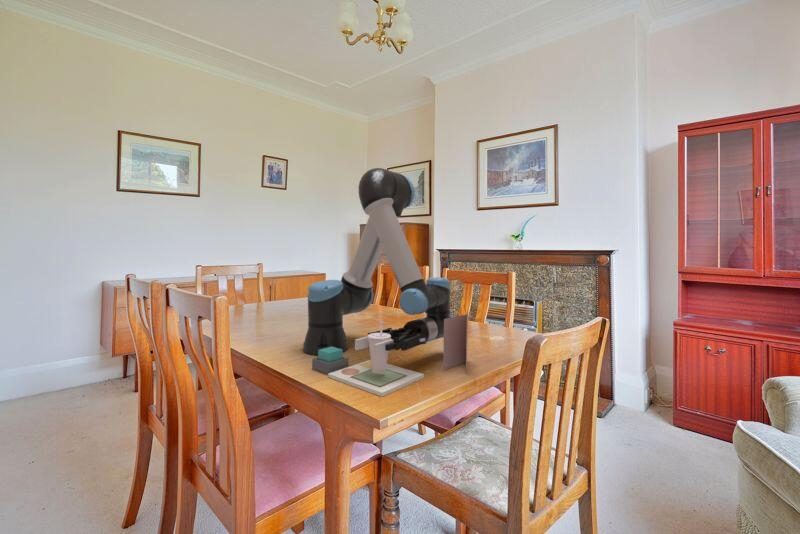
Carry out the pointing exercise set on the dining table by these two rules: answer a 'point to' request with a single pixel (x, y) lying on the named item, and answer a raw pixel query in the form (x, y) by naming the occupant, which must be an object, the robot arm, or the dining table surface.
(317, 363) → the button housing
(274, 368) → the dining table surface
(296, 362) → the dining table surface
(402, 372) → the picture board
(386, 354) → the smoothie
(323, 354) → the button
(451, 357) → the greeting card
